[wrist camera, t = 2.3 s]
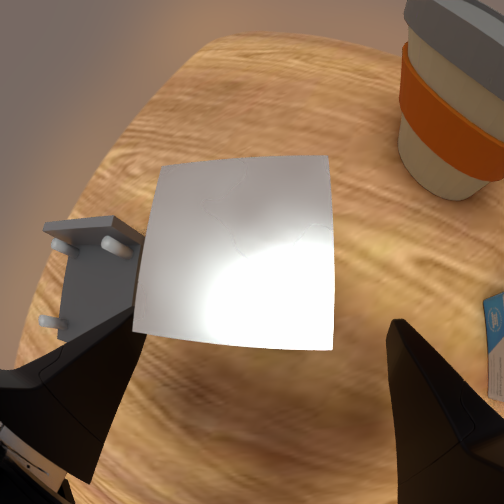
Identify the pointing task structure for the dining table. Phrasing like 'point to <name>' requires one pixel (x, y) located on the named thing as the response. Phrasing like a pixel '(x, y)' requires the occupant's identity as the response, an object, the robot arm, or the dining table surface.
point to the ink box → (495, 345)
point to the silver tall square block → (240, 254)
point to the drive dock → (94, 272)
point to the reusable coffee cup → (452, 96)
